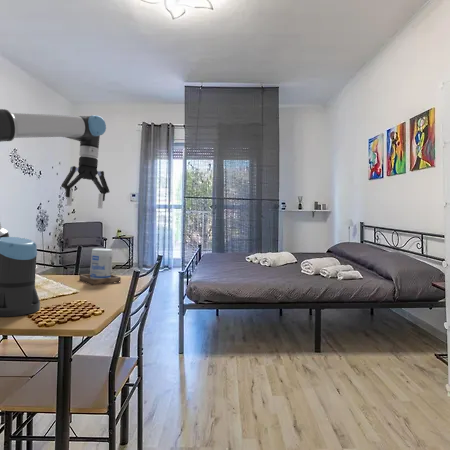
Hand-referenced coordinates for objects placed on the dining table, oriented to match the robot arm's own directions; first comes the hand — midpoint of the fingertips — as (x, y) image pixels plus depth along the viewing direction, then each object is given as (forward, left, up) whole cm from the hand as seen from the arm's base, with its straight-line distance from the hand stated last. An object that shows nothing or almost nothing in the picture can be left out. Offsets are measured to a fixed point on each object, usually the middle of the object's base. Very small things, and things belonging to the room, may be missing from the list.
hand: (85, 207), depth 151 cm
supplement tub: (+14, +11, -35) cm, 39 cm away
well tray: (+14, +11, -35) cm, 39 cm away
